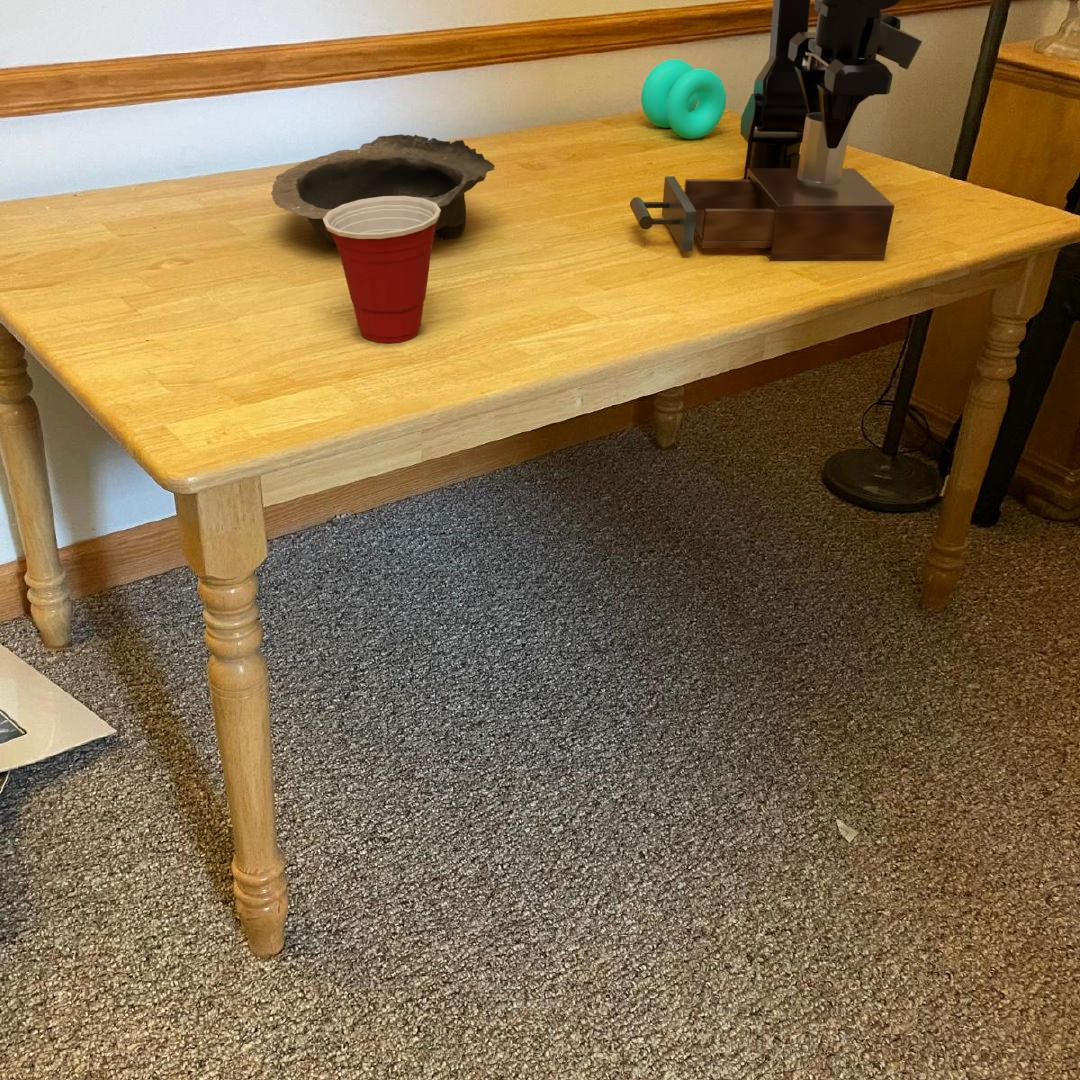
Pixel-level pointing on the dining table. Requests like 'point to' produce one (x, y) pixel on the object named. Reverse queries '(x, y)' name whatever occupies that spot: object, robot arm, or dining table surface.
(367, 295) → the plastic cup
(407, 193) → the stone bowl
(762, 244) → the drawer
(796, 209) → the cabinet
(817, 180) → the cup
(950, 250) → the dining table surface
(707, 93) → the teal yo-yo
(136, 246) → the dining table surface
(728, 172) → the dining table surface
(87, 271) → the dining table surface
